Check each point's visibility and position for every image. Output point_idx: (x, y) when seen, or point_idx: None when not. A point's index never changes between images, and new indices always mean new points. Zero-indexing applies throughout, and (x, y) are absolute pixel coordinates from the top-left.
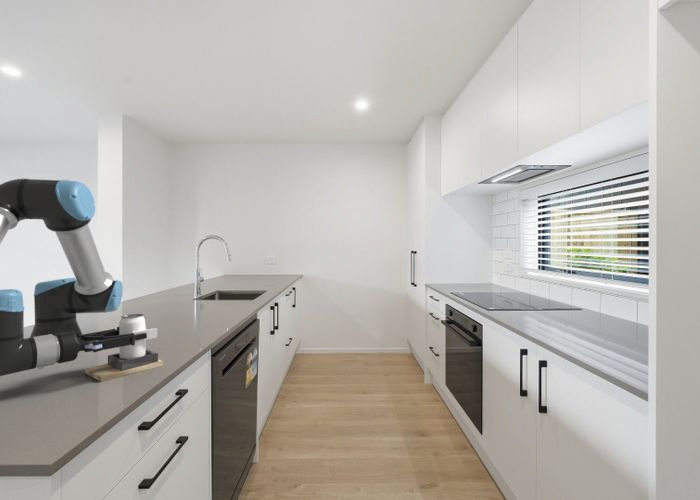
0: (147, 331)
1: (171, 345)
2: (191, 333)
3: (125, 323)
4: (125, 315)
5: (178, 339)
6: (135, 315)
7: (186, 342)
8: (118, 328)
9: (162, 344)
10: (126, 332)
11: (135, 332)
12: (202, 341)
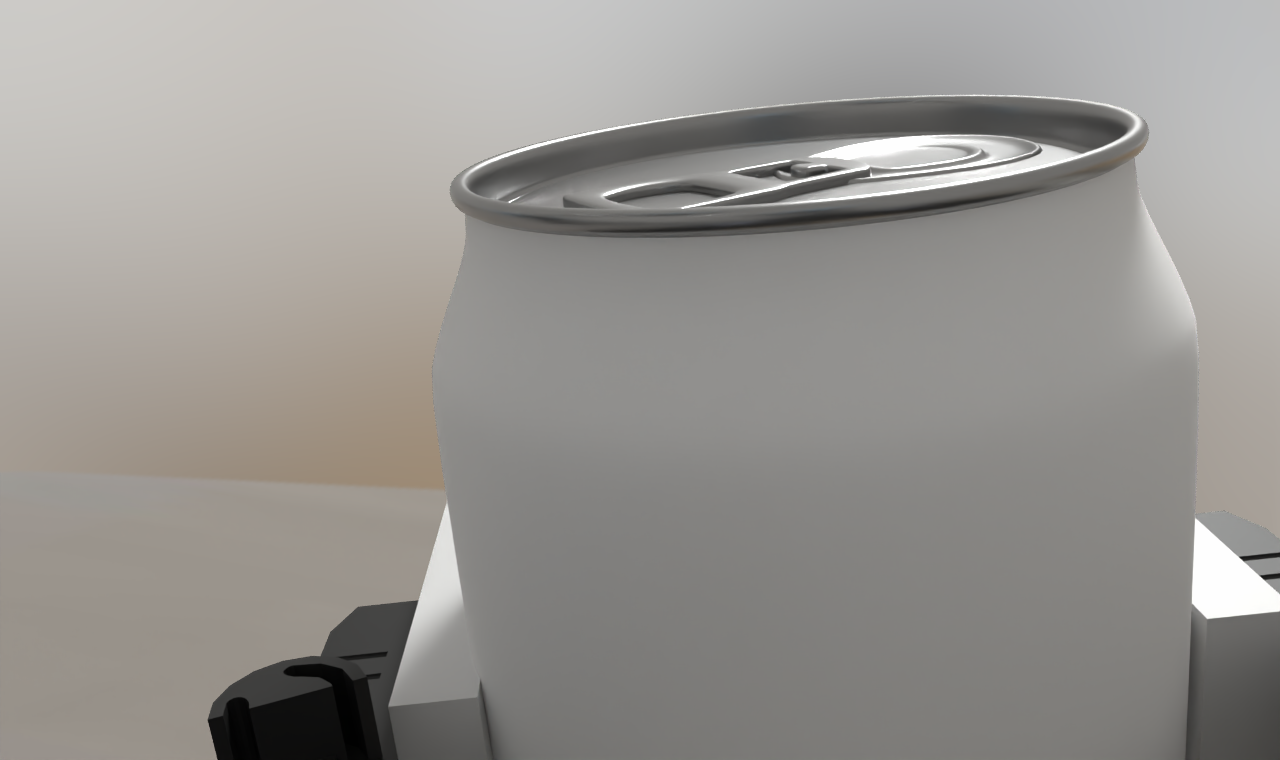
0: None
1: (211, 676)
2: (36, 505)
3: (1128, 394)
4: (472, 199)
5: (77, 595)
6: (589, 176)
7: (281, 581)
8: (292, 739)
9: (45, 719)
10: (1143, 703)
11: (1259, 585)
12: (414, 511)
